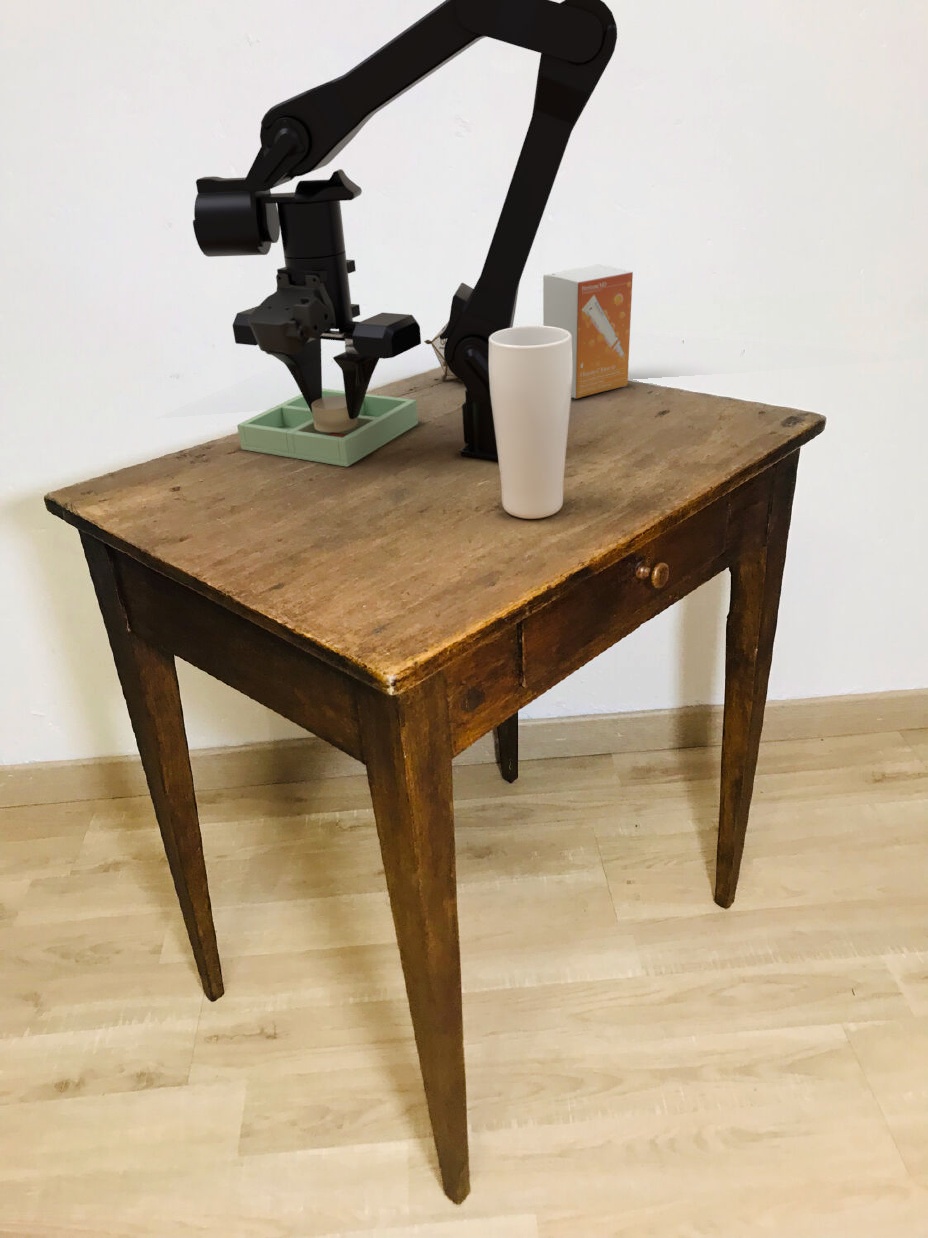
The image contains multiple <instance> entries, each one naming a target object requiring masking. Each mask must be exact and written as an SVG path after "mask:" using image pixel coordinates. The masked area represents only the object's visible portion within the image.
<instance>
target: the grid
mask: <svg viewBox="0 0 928 1238" xmlns="http://www.w3.org/2000/svg"><path fill="white" fill-rule="evenodd" d="M329 396H345V390H340V389H339V390H338V389H330V388H323V387H322V398H324V397H329ZM417 406H418V405H417V399H411V398H404V397H397V396H395V397H394V396H388V395H387V396H386V395H379V394H370V393H366V395H365V398H364V401H363V404H362V407H361V410H360V413H359V416H358V417H357V422H358V423H357V425H356V426H355V427H354V428H352V429H350V430H346V431H342V432H332V433H330V432H321V431H318V430H316V429H315V428H314V421H313V414H312V413H311V411H310V409H309V407H308V405H307V403H306V401H305V399H304V397H303V395H302V393H300V394H298V395H296V396H294V397H292V398H290V399H288V400H286V401H283V402H281V403H279V404H277V405H275V406H273V407H271V408H269V409H267V410H265V411H263V412H261V413H259V414H257V415H255V416H252V417H250V418H248V419H245V420H244V421H242V422H240V423H237V424H236V427H237V432H238V437H239V443H240V449H241V450H243V451H250V452H254V453H255V452H256V453H261V454H267V455H274V456H279V457H286V458H291V459H298V460H304V461H311V462H316V463H322V464H328V465H334V466H341V467H346V468H348V467H350V466H352V465H353V464H354V463H356V462H358V461H360V460H362V459H363V458H364V457H366V456H368V455H369V454H371V453H373V452H374V451H376V450H378V449H379V448H381V447H384V445H386V444H388V443H389V442H391V441H392V440H394V439H396V438H398V437H399V436H401V435H402V434H404V433H406V432H407V431H409V430H410V429H412V428H413V427H415V426H417V425H419V420H418V419H419V418H418V407H417Z"/></svg>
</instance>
